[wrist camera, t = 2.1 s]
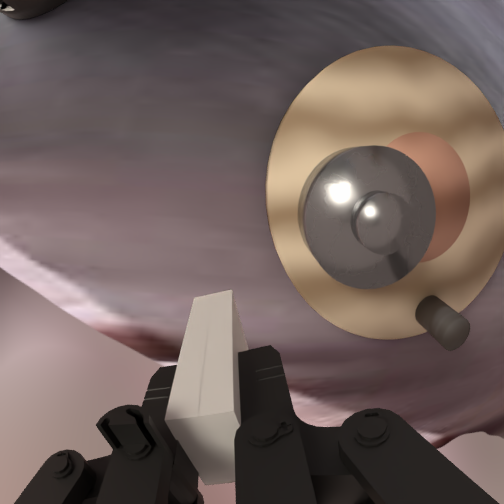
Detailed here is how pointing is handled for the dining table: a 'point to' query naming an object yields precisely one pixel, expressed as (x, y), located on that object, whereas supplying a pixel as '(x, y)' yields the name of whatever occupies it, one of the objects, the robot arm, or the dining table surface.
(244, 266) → the dining table surface
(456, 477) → the robot arm
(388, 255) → the cover
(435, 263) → the turntable
